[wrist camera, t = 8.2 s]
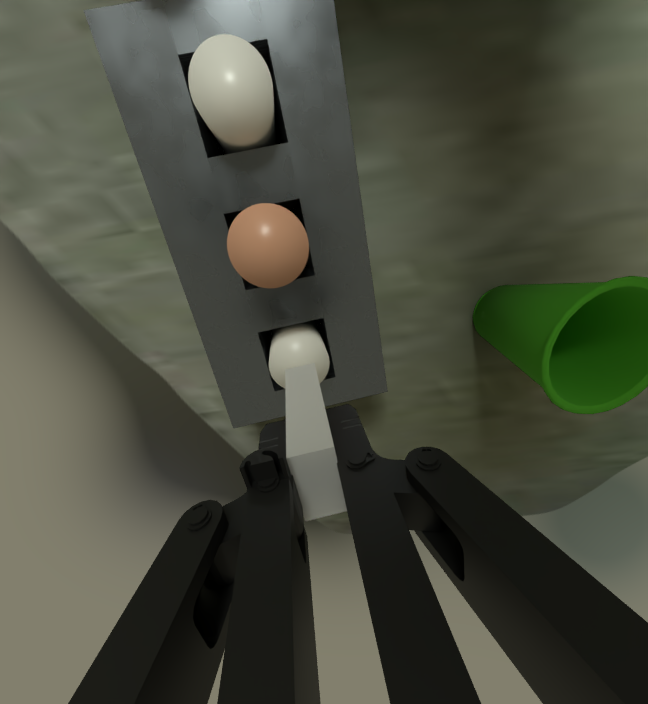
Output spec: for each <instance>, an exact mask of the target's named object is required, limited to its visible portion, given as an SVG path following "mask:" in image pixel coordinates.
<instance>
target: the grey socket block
mask: <svg viewBox="0 0 648 704" xmlns="http://www.w3.org/2000/svg"><path fill="white" fill-rule="evenodd" d="M84 13H85V16H86V19H87V22H88V24H89V27H90V30H91V33H92V35H93V38H94V41H95V44H96V47H97V49H98V52H99V55H100V58H101V61H102V63H103V66H104V69H105V72H106V74H107V77H108V80H109V83H110V86H111V88H112V91H113V94H114V97H115V100H116V102H117V105H118V108H119V111H120V113H121V116H122V119H123V122H124V125H125V127H126V130H127V133H128V136H129V139H130V141H131V144H132V147H133V150H134V152H135V155H136V158H137V161H138V164H139V166H140V169H141V172H142V175H143V178H144V180H145V183H146V186H147V189H148V191H149V194H150V197H151V200H152V203H153V205H154V208H155V211H156V214H157V217H158V219H159V222H160V225H161V228H162V230H163V233H164V236H165V239H166V242H167V244H168V247H169V250H170V253H171V256H172V258H173V261H174V264H175V267H176V270H177V272H178V275H179V278H180V281H181V283H182V286H183V289H184V292H185V295H186V297H187V300H188V303H189V306H190V309H191V311H192V314H193V317H194V320H195V322H196V325H197V328H198V331H199V334H200V336H201V339H202V342H203V345H204V348H205V350H206V353H207V356H208V359H209V361H210V364H211V367H212V370H213V373H214V375H215V378H216V381H217V384H218V387H219V389H220V392H221V395H222V398H223V400H224V403H225V406H226V409H227V412H228V414H229V417H230V420H231V423H232V426H233V428H237V427H241V426H246V425H250V424H254V423H258V422H262V421H266V420H271V419H275V418H279V417H283V416H286V394H285V388H283V387H281V386H280V385H278V384H277V383H276V382H275V380H274V379H273V378H272V376H271V373H270V370H269V356H270V347H271V341H270V337H269V333H268V330H271V329H276V328H280V327H285V326H289V325H294V324H298V323H303V322H307V321H311V320H316V319H319V322H320V327H321V332H322V337H323V342H324V345H325V348H326V350H327V353H328V356H329V370H328V373H327V375H326V377H325V378H324V380H323V381H322V382H321V383H320V388H321V393H322V397H323V401H324V405H325V406H329V405H333V404H338V403H342V402H346V401H350V400H354V399H359V398H363V397H367V396H371V395H375V394H379V393H384V392H388V391H387V384H386V376H385V369H384V362H383V354H382V347H381V340H380V333H379V325H378V318H377V311H376V304H375V296H374V289H373V282H372V275H371V267H370V260H369V253H368V246H367V238H366V231H365V224H364V217H363V209H362V202H361V195H360V188H359V180H358V173H357V166H356V158H355V151H354V144H353V137H352V129H351V122H350V115H349V108H348V100H347V93H346V86H345V79H344V71H343V64H342V57H341V50H340V42H339V35H338V28H337V21H336V13H335V6H334V0H142V1H136V2H130V3H124V4H118V5H112V6H106V7H100V8H94V9H88V10H84ZM220 34H229V35H234V36H237V37H240V38H242V39H244V40H245V41H247V42H248V43H250V44H251V45H252V46H253V47H254V48H255V49H256V50H257V51H258V52H259V53H260V54H261V56H262V57H263V59H264V61H265V62H266V64H267V66H268V69H269V72H270V75H271V79H272V84H273V97H274V107H275V111H276V116H277V121H278V126H279V131H280V135H281V140H282V144H277V145H272V146H267V147H262V148H257V149H252V150H247V151H242V152H236V153H231V154H226V155H221V156H220V155H219V151H218V147H217V144H216V140H215V136H214V135H213V133H212V132H211V130H210V129H209V127H208V126H207V124H206V123H205V121H204V120H203V118H202V117H201V115H200V114H199V112H198V110H197V109H196V107H195V105H194V102H193V100H192V97H191V94H190V90H189V83H188V73H189V66H190V62H191V59H192V56H193V54H194V53H195V51H196V49H197V48H198V47H199V45H200V44H202V43H203V42H204V41H205V40H207V39H208V38H210V37H212V36H215V35H220ZM260 203H271V204H276V205H279V206H282V207H284V208H286V209H287V210H288V209H293V208H296V212H297V217H298V219H299V220H300V222H301V223H302V225H303V227H304V229H305V231H306V233H307V237H308V242H309V254H308V259H307V265H308V268H304V269H303V271H302V272H301V274H300V275H299V276H298V277H297V278H296V279H295V280H294V281H292V282H291V283H289V284H287V285H285V286H282V287H279V288H262V287H258V286H256V285H253V284H251V283H249V282H248V281H246V280H245V279H244V278H242V277H241V276H240V275H239V273H238V272H237V271H236V270H235V268H234V267H233V265H232V263H231V261H230V258H229V255H228V250H227V237H228V232H229V229H230V226H231V224H232V222H233V221H234V219H235V218H236V217H237V215H238V214H239V213H241V212H242V211H243V210H244V209H246V208H248V207H250V206H252V205H255V204H260Z"/></svg>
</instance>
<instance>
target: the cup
mask: <svg viewBox="0 0 648 704" xmlns="http://www.w3.org/2000/svg"><path fill="white" fill-rule="evenodd" d="M473 323H474V326H475V328H476V331H477V332H478V333H479V335H480V336H481V337H483V338H484V339H485V340H486V341H487V342H489V343H490V344H491V345H492V346H493V347H495V348H496V349H497V350H498V351H499V352H501V353H502V354H503V355H504V356H505V357H507V358H508V359H509V360H510V361H511V362H513V363H514V364H515V365H516V366H517V367H519V368H520V369H521V370H522V371H523V372H525V373H526V374H527V375H528V376H529V377H531V378H532V379H533V380H534V381H535V382H537V383H538V384H539V385H540V386H541V387H543V389H544V392H545V393H546V395H547V396H548V397H549V399H550V400H551V402H552V403H554V404H555V405H557V406H558V407H559V408H561V409H563V410H566V411H569V412H572V413H578V414H595V413H600V412H605V411H608V410H611V409H613V408H616V407H618V406H621V405H623V404H624V403H626V402H628V401H629V400H631V399H632V398H634V397H636V396H637V395H638V394H639V393H641V392H642V391H643V390H644V389H645V388H646V387H647V386H648V278H647V277H638V276H628V277H622V278H616V279H613V280H610V281H608V282H598V283H563V284H528V285H503V286H498V287H496V288H494V289H492V290H490V291H488V292H487V293H485V294H484V295H483V296H482V297H481V298H480V299H479V301H478V303H477V304H476V306H475V309H474V313H473Z"/></svg>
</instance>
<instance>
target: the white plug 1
mask: <svg viewBox="0 0 648 704" xmlns="http://www.w3.org/2000/svg"><path fill="white" fill-rule="evenodd" d="M188 83H189V90H190V94H191V97H192V100H193V102H194V105H195V107H196V109H197V110H198V112H199V114H200V115H201V117H202V118H203V120H204V121H205V123H206V124H207V126H208V127H209V129H210V130H211V132H212V133H213V135H214V136H215V138H216V139H217V141H218V142H219V144H220V145H221V147H222V148H223V150H224V151H225V153H226V154H231V153H236V152H242V151H247V150H252V149H257V148H262V147H267V146H272V145H275V142H276V128H275V113H274V97H273V84H272V79H271V75H270V72H269V69H268V66H267V64H266V62H265V61H264V59H263V57H262V56H261V54H260V53H259V52H258V51H257V50H256V49H255V48H254V47H253V46H252V45H251V44H250V43H248V42H247V41H245V40H244V39H242V38H240V37H237V36H234V35H229V34H220V35H215V36H212V37H210V38H208V39H207V40H205V41H204V42H203V43H202V44H200V45H199V47H198V48H197V49H196V51H195V53H194V54H193V56H192V59H191V62H190V66H189V73H188Z"/></svg>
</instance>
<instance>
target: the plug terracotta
mask: <svg viewBox="0 0 648 704" xmlns="http://www.w3.org/2000/svg"><path fill="white" fill-rule="evenodd" d="M227 250H228V255H229V258H230V261H231V263H232V265H233V267H234V268H235V270H236V271H237V272H238V273H239V275H240V276H241V277H242V278H244V279H245V280H246V281H248V282H249V283H251V284H253V285H256V286H258V287H262V288H279V287H282V286H285V285H287V284H289V283H291V282H292V281H294V280H295V279H296V278H297V277H298V276H299V275H300V274H301V272H302V271H303V269H304V267H305V265H306V262H307V259H308V254H309V242H308V237H307V233H306V231H305V229H304V227H303V225H302V223H301V222H300V220H299V219H298V218H297V217H296V216H295V215H294V214H293V213H292V212H290V211H289V210H287V209H286V208H284V207H282V206H279V205H276V204H271V203H260V204H255V205H252V206H250V207H248V208H246V209H244V210H243V211H242V212H241V213H239V214H238V215H237V217H236V218H235V219H234V221H233V222H232V224H231V226H230V229H229V232H228V237H227Z"/></svg>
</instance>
